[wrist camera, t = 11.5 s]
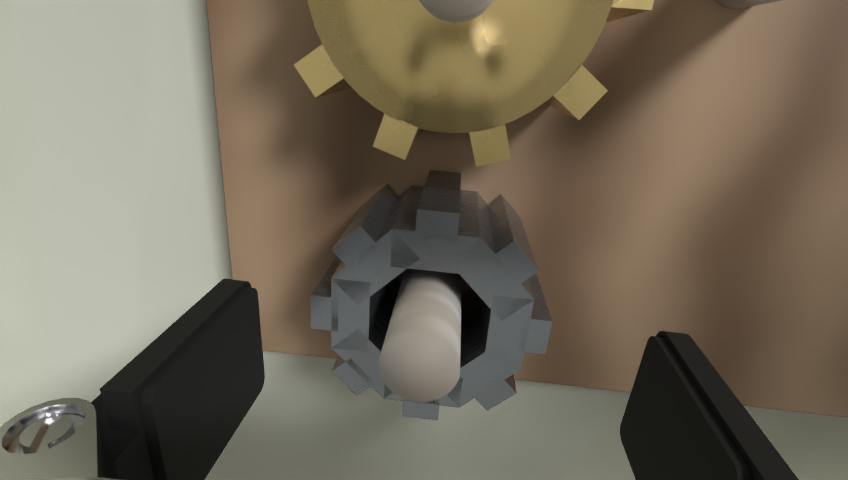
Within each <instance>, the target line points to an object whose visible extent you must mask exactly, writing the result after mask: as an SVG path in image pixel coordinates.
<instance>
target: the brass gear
mask: <svg viewBox="0 0 848 480" xmlns="http://www.w3.org/2000/svg"><path fill="white" fill-rule="evenodd" d="M307 1H308V6H309V10H310V13H311V16H312V19H313V23H314V26H315V29H316V31H317V33H318V36H319V38H320V40H321V43H322V45H320V46H319V47H317V48H316V49H315V50H313V51H312V52H311V53H309V54H308V55H306V56H305V57H304V58H302V59H301V60H300V61H298V62H297V63H296V64H294V66H295V68H296V69H297V71H298V72H299V74H300V75H301V77H302V78H303V80H304V81H305V83H306V84H307V86H308V87H309V89H310V90H311V92H312V93H313V95H314V96H315V98H316V97H321V96H325V95H329V94H333V93H337V92H341V91H345V90H349V89H354V90H355V91H356V92H357V93H358V94H359V95H360V96H361V97H362V98H364V99H365V100H366V101H367V102H369V103H370V104H371V105H372V106H374V107H375V108H376V109H378V110H380V111H381V112H383V113H385V114H384V116H383V119H382V122H381V125H380V127H379V130H378V133H377V136H376V139H375V141H374V144H373V147H375V148H378V149H380V150H382V151H385V152H387V153H389V154H392V155H394V156H397V157H399V158H401V159H404V160H405V159H406V158H407V156H408V154H409V153H410V151H411V150H412V148H413V146H414V145H415V143H416V141H417V140H418V138H419V136H420V134H421V131H422V129H424V130H428V131H435V132H441V133H468V132H469V135H470V140H471V144H472V149H473V154H474V159H475V164H476V167H477V166H481V165H486V164H490V163H495V162H499V161H504V160H509V159H511V155H510V149H509V144H508V138H507V132H506V127H505V124H506V123H509V122H511V121H514V120H516V119H518V118H520V117H522V116H524V115H526V114H527V113H529V112H531V111H533V110H534V109H536V108H537V107H539V106H540V105H541V104H543V103H544V102H547V103H548V104H549V105H551V106H552V107H554V108H556V109H558V110H560V111H562V112H564V113H566V114H568V115H570V116H572V117H574V118H575V119H577V120H580V119H581V118H582V117H583V116H584V115H585V114H586V113H587V112H588V111H589V110H590V109H591V108H592V107H593V106H594V105H595V104H596V102H597V101H598V100H599V99H600V98H601V97H602V96H603V95H604V94H605V93H606V92H607V91H608V90H607V89H606V88H605V87H604V86H603V85H602V84H601V83H600V82H599V81H598V80H597V79H596V78H595V77H594V76H593V75H592V74H591V73H590V72H589V71H588V70H587V69H586V68H585V67H584V66H583V65H582V64H583V62H584V61H585V59H586V58H587V56H588V55H589V53H590V52H591V51H592V49H593V47H594V45H595V43H596V41H597V39H598V37H599V36H600V34H601V32H602V30H603V27H604V25H605V23H606V22H610V21H614V20H617V19H621V18H625V17H628V16H632V15H636V14H639V13H643V12H647V11H650V10H652V7H653V3H654V0H494V1H493V2H492V4H491V5H490V6H489V7H488V8H487V9H486V11H484V12H483V13H482V14H481V15H479V16H478V17H476V18H474V19H472V20H469V21H466V22H460V23H452V22H446V21H443V20H440V19H438V18H436V17H435V16H433V15H432V14H430V13H429V12H428V11H427V10H426V9H425V8H424V6H423V5H422V4H421V3H420V1H419V0H307Z"/></svg>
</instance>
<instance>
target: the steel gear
mask: <svg viewBox="0 0 848 480" xmlns="http://www.w3.org/2000/svg"><path fill="white" fill-rule="evenodd" d="M332 251H333V252H334V253H335V254H336V255H337V256H336V257H335V259H334V260H333V262H332V263H331V265H330V266H329V268H328V269H327V271H326V272H325V274H324V275H323V277H322V279H321V280H320V282H319V283H318V285H317V286H316V288H315V289H314V291H313V292H312V294H311V295H310V299H311V328H312V329H321V330H330V331H331V348H332V349H333V350H334V351H335V352H336V353H337V354H338V355H339V356H338V358H337V361H336V363H335V365H334V368H333V370H332V372H333V373H334V374H335V375H336V376H337V377H338V378H339V379H340V380H341V381H342V382H343V383H344V384H345V385H346V386H347V387H348V388H350V389H351V390H352V391H353V392H354V393H355V394H356V395H357V394H359V393H360V392H362V391H363V390H365V389H366V388H368V387H369V386H371V387H372V388H373V389H375V390H376V391H377V392H378V393H379V394H380V395H381V396H382V397H383V398H384V399H392V400H401V401H403V415H402V416H406V417H414V418H423V419H431V420H438V411H439V405H443V406H451V407H460V406H462V405H464V404H465V403H467V402H469V401H470V400H472V399H474V398H475V399H476V400H477V401H478V402H479V403H480V404H481V405H482V406H483V407H484V408H485V409H486V410H489V409H490V408H492V407H494V406H495V405H497V404H499V403H501V402H502V401H504V400H506V399H507V398H509V397H511V396H512V395H514V394H516V387H515V380H514V374H515V373H516V372H518V371H520V370H521V367H522V362H523V357H524V352H528V353H537V354H546V350H547V345H548V340H549V335H550V330H551V326H552V319H551V316H550V313H549V310H548V307H547V304H546V301H545V298H544V295H543V292H542V289H541V286H540V283H539V280H538V277H537V274H536V273H537V272H539V269H538V267H537V264H536V261H535V258H534V255H533V252H532V249H531V247H530V244H529V241H528V238H527V235H526V232H525V230H524V227H523V224H522V221H521V218H520V216H519V215H518V214H517V213H516V211H515V210H514V209H513V208H512V206H511V205H510V204H509V203H508V202H507V200H506V199H505V198H504V197H503V195H502V194H500V195H499V196H498V197H496V198H495V199H494V200H492V201H491V202H490V203H488V204H487V203H486V202H485V201H484V199H483V198H482V197H481V196H480V195H479V193H478V192H477V191H468V190H461V173H456V172H445V171H434V170H430V171H429V174H428V177H427V180H426V183H425V186H414V185H411V186H410V187H409V188H407V189H406V190H405V191H404V192H403V193H401V194H400V195H399V196H398V194H397V193H396V192H395V191H394V190H393V189H392V188H391V187H390V186H389V184H388V183H387V184H386V185H385V186H384V187H382V188H381V189H380V190H379V191H378V192H377V193H375V194H374V195H373V196H372V197H371V198H369V199H368V200H367V201H366V202H365V203H364V205H363V206H362V207H361V209H360V210H359V212H358V213H357V214H356V216H355V217H354V219H353V220H352V222H351V223H350V224H349V226H348V227H347V229H346V230H345V231H344V233H343V234H342V236H341V237H340V238H339V240H338V241H337V243H336V244H335V246H334V247H333V248H332ZM407 268H408V269H418V270H427V271H437V272H447V273H457V274H460V275H461V276H462V278H463V279H464V280H465V281H466V282H467V283H468V284H469V285H470V287H471V289H469V290H468V291H466V292H465V293H463V294H462V295H461V348H460V376H459V379H458V382H457V384H456V385H455V387H454V388H453V389H452V390H451V391H450V392H449V393H448V394H446V395H445V396H443V397H441V398H439V399H436V400H433V401H427V402H418V401H411V400H407V399H404V398H402V397H400V396H398V395H396V394H395V393H393V392H392V391H391V390H390V389H389V388H388V387H387V386H386V385H385V384H384V382H383V381H382V379H381V377H380V374H379V369H378V362H379V357H380V354H381V350H382V347H383V343H384V340H385V337H386V333H387V330H388V326H389V323H390V319H391V316H392V312H393V309H394V305H395V302H396V298H397V295H398V292H399V288H400V285H401V282H400V281H399V280H398V279H397V278H396V277H397V276H398V275H399V274H401V273H402V272H403V271H404V270H406V269H407Z"/></svg>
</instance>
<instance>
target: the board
mask: <svg viewBox="0 0 848 480" xmlns="http://www.w3.org/2000/svg"><path fill="white" fill-rule="evenodd" d="M419 1H420V3H421V4H422V5H423V6H424V8H425V9H426V10H427V11H428V12H429V13H430V14H432V15H433V16H435V17H436V18H438V19H440V20H443V21H446V22H452V23H460V22H466V21H469V20H472V19H474V18H476V17H478V16H479V15H481V14H482V13H483V12H484V11H486V9H487V8H488V7H489V6H490V5H491V4H492V2H493V1H494V0H419ZM206 3H207V13H208V24H209V35H210V45H211V56H212V67H213V77H214V88H215V99H216V110H217V120H218V131H219V142H220V152H221V163H222V174H223V184H224V195H225V206H226V216H227V227H228V238H229V249H230V259H231V270H232V280H241V281H248V282H249V283H250V284H251V287H252V288H255V289H257V292H258V301H259V313H260V326H261V338H262V350H266V351H275V352H283V353H292V354H301V355H309V356H318V357H327V358H336V359H337V358H338V356H339V355H338V354H337V353H336V352H335V351H334V350H333V349H332V348H331V331H330V330H321V329H312V328H311V299H310V295H311V294H312V292H313V291H314V289H315V288H316V286H317V285H318V283H319V282H320V280H321V279H322V277H323V275H324V274H325V272H326V271H327V269H328V268H329V266H330V265H331V263H332V262H333V260H334V259H335V257H336V256H337V255H336V254H335V253H334V252H333V251H332V248H333V247H334V246H335V244H336V243H337V241H338V240H339V238H340V237H341V236H342V234H343V233H344V231H345V230H346V229H347V227H348V226H349V224H350V223H351V222H352V220H353V219H354V217H355V216H356V214H357V213H358V212H359V210H360V209H361V207H362V206H363V205H364V203H365V202H366V201H367V200H368V199H369V198H371V197H372V196H373V195H374V194H375V193H377V192H378V191H379V190H380V189H381V188H382V187H384V186H385V185H386V184H387V183H388V184H389V186H390V187H391V188H392V189H393V190H394V191H395V192H396V193H397V194H398V196H399V195H400V194H401V193H403V192H404V191H405V190H406V189H407V188H409V187H410V186H411V185H414V186H425V183H426V180H427V177H428V174H429V171H430V170H434V171H445V172H456V173H461V190H468V191H477V192H478V193H479V195H480V196H481V197H482V198H483V199H484V201H485V202H486V203H487V204H488V203H490V202H491V201H492V200H494V199H495V198H496V197H498V196H499V195H500V194H502V195H503V197H504V198H505V199H506V200H507V202H508V203H509V204H510V205H511V206H512V208H513V209H514V210H515V211H516V213H517V214H518V215H519V216H520V218H521V221H522V224H523V227H524V230H525V232H526V235H527V238H528V241H529V244H530V247H531V249H532V252H533V255H534V258H535V261H536V264H537V267H538V269H539V272H537V273H536V274H537V277H538V280H539V283H540V286H541V289H542V292H543V295H544V298H545V301H546V304H547V307H548V310H549V313H550V316H551V319H552V326H551V330H550V335H549V340H548V345H547V350H546V354H537V353H528V352H524V357H523V362H522V367H521V370H520V371H518V372H516V373H515V374H514V379H518V380H526V381H535V382H544V383H552V384H561V385H570V386H579V387H587V388H596V389H605V390H613V391H622V392H631V391H632V388H633V385H634V381H635V378H636V375H637V372H638V369H639V366H640V362H641V359H642V356H643V353H644V350H645V347H646V344H647V341H648V339H649V337H651V336H656V335H657V333H658V332H660V331H668V332H676V333H685V334H688V335H690V336H691V337H692V339H693V340H694V341H695V343H696V344H697V345H698V347H699V348H700V349H701V351H702V352H703V353H704V355H705V356H706V357H707V359H708V360H709V361H710V363H711V364H712V365H713V367H714V368H715V369H716V371H717V372H718V373H719V375H720V376H721V377H722V379H723V380H724V381H725V383H726V384H727V385H728V387H729V388H730V389H731V391H732V392H733V393H734V395H735V396H736V397H737V399H738V400H739V401H740V403H741V404H742V405H743V406H752V407H761V408H769V409H778V410H787V411H795V412H804V413H813V414H822V415H830V416H839V417H848V0H654V3H653V7H652V10H650V11H647V12H643V13H639V14H636V15H632V16H628V17H625V18H621V19H617V20H614V21H610V22H606V23H605V25H604V27H603V30H602V32H601V34H600V36H599V37H598V39H597V41H596V43H595V45H594V47H593V49H592V51H591V52H590V53H589V55H588V56H587V58H586V59H585V61H584V62H583V64H582V65H583V66H584V67H585V68H586V69H587V70H588V71H589V72H590V73H591V74H592V75H593V76H594V77H595V78H596V79H597V80H598V81H599V82H600V83H601V84H602V85H603V86H604V87H605V88H606V89H607V90H608V91H607V92H606V93H605V94H604V95H603V96H602V97H601V98H600V99H599V100H598V101H597V102H596V104H595V105H594V106H593V107H592V108H591V109H590V110H589V111H588V112H587V113H586V114H585V115H584V116H583V117H582V118H581V119H580V120H577V119H575V118H574V117H572V116H570V115H568V114H566V113H564V112H562V111H560V110H558V109H556V108H554V107H552V106H551V105H549V104H548V103H547V102H544V103H543V104H541V105H540V106H539V107H537V108H536V109H534V110H533V111H531V112H529V113H527V114H526V115H524V116H522V117H520V118H518V119H516V120H514V121H511V122H509V123H506V124H505V127H506V132H507V138H508V144H509V149H510V155H511V159H509V160H504V161H499V162H495V163H490V164H486V165H481V166H477V167H476V164H475V159H474V154H473V149H472V144H471V140H470V135H469V132H468V133H441V132H435V131H428V130H424V129H422V131H421V134H420V136H419V138H418V140H417V141H416V143H415V145H414V146H413V148H412V150H411V151H410V153H409V154H408V156H407V158H406V159H405V160H404V159H401V158H399V157H397V156H394V155H392V154H389V153H387V152H385V151H382V150H380V149H378V148H375V147H373V144H374V141H375V139H376V136H377V133H378V130H379V127H380V125H381V122H382V119H383V116H384V114H385V113H383V112H381V111H380V110H378V109H376V108H375V107H374V106H372V105H371V104H370V103H369V102H367V101H366V100H365V99H364V98H362V97H361V96H360V95H359V94H358V93H357V92H356V91H355V90H354V89H349V90H345V91H341V92H337V93H333V94H329V95H325V96H321V97H316V98H315V96H314V95H313V93H312V92H311V90H310V89H309V87H308V86H307V84H306V83H305V81H304V80H303V78H302V77H301V75H300V74H299V72H298V71H297V69H296V68H295V66H294V64H296V63H297V62H298V61H300V60H301V59H302V58H304V57H305V56H306V55H308V54H309V53H311V52H312V51H313V50H315V49H316V48H317V47H319V46H320V45H322V43H321V40H320V38H319V36H318V33H317V31H316V29H315V26H314V23H313V19H312V16H311V13H310V10H309V6H308V1H307V0H206ZM396 278H397V279H398V280H399V281H400V282H401V285H400V288H399V292H398V295H397V298H396V302H395V305H394V309H393V312H392V316H391V319H390V323H389V326H388V330H387V333H386V337H385V340H384V343H383V347H382V350H381V354H380V357H379V362H378V369H379V374H380V377H381V379H382V381H383V382H384V384H385V385H386V386H387V387H388V388H389V389H390V390H391V391H392V392H393V393H395V394H396V395H398V396H400V397H402V398H404V399H407V400H411V401H418V402H427V401H433V400H436V399H439V398H441V397H443V396H445V395H446V394H448V393H449V392H450V391H451V390H452V389H453V388H454V387H455V385H456V384H457V382H458V379H459V376H460V348H461V295H462V294H463V293H465V292H466V291H468V290H469V289H471V287H470V285H469V284H468V283H467V282H466V281H465V280H464V279H463V278H462V276H461V275H460V274H457V273H447V272H437V271H427V270H418V269H408V268H407V269H406V270H404V271H403V272H402V273H401V274H399V275H398V276H397V277H396Z"/></svg>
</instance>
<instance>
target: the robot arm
mask: <svg viewBox="0 0 848 480" xmlns="http://www.w3.org/2000/svg"><path fill="white" fill-rule="evenodd" d="M263 384H264V363H263V351H262V338H261V326H260V313H259V301H258V292H257V289H255V288H252V287H251V284H250V283H249V282H248V281H241V280H232V279H223V280H222V281H221V282H219V283H218V284H217V285H216V286H215V287H214V288H213V289H212V290H210V291H209V292H208V293H207V294H206V295H205V296H204V297H203V298H201V299H200V300H199V301H198V302H197V303H196V304H195V305H194V306H192V307H191V308H190V309H189V310H188V311H187V312H186V313H185V314H183V315H182V316H181V317H180V318H179V319H178V320H177V321H176V322H174V323H173V324H172V325H171V326H170V327H169V328H168V329H167V330H165V331H164V332H163V333H162V334H161V335H160V336H159V337H158V338H157V339H155V340H154V341H153V342H152V343H151V344H150V345H149V346H148V347H146V348H145V349H144V350H143V351H142V352H141V353H140V354H139V355H137V356H136V357H135V358H134V359H133V360H132V361H131V362H130V363H128V364H127V365H126V366H125V367H124V368H123V369H122V370H121V371H119V372H118V373H117V374H116V375H115V376H114V377H113V378H112V379H110V380H109V381H108V382H107V383H106V384H105V385H104V386H103V387H101V388H100V391H101V394H100V395H99V396H98V397H97V398H96V399H95V400H93V401H92V402H91V403H90V402H89V401H87V400H83V399H79V398H62V399H57V400H52V401H48V402H45V403H42V404H39V405H36V406H33V407H31V408H29V409H27V410H25V411H23V412H21V413H19V414H17V415H16V416H15V417H13V418H12V419H10V420H9V421H8V422H6V423H5V424H4V425H3V426H2V427H1V428H0V480H204V479H205V478H206V476H207V475H208V473H209V472H210V470H211V468H212V467H213V465H214V464H215V462H216V461H217V459H218V457H219V456H220V454H221V453H222V451H223V450H224V448H225V446H226V445H227V443H228V442H229V440H230V439H231V437H232V436H233V434H234V432H235V431H236V429H237V428H238V426H239V425H240V423H241V421H242V420H243V418H244V417H245V415H246V414H247V412H248V411H249V409H250V407H251V406H252V404H253V403H254V401H255V400H256V398H257V396H258V395H259V393H260V392H261V390H262V387H263ZM620 435H621V441H622V444H623V446H624V449H625V452H626V454H627V457H628V460H629V462H630V465H631V468H632V471H633V473H634V476H635V479H636V480H798V478H797V477H796V476H795V474H794V473H793V472H792V470H791V469H790V468H789V466H788V465H787V464H786V462H785V461H784V460H783V458H782V457H781V456H780V454H779V453H778V452H777V450H776V449H775V448H774V446H773V445H772V444H771V442H770V441H769V440H768V438H767V437H766V436H765V434H764V433H763V432H762V430H761V429H760V428H759V426H758V425H757V424H756V422H755V421H754V420H753V418H752V417H751V416H750V415H749V413H748V412H747V411H746V409H745V408H744V407H743V405H742V404H741V403H740V401H739V400H738V399H737V397H736V396H735V395H734V393H733V392H732V391H731V389H730V388H729V387H728V385H727V384H726V383H725V381H724V380H723V379H722V377H721V376H720V375H719V373H718V372H717V371H716V369H715V368H714V367H713V365H712V364H711V363H710V361H709V360H708V359H707V357H706V356H705V355H704V353H703V352H702V351H701V349H700V348H699V347H698V345H697V344H696V343H695V341H694V340H693V339H692V337H691V336H690V335H688V334H685V333H676V332H668V331H660V332H658V333H657V335H656V336H651V337H649V339H648V341H647V344H646V347H645V350H644V353H643V356H642V359H641V362H640V366H639V369H638V372H637V375H636V378H635V381H634V385H633V388H632V391H631V394H630V397H629V400H628V404H627V407H626V410H625V413H624V416H623V419H622V422H621V427H620Z"/></svg>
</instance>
